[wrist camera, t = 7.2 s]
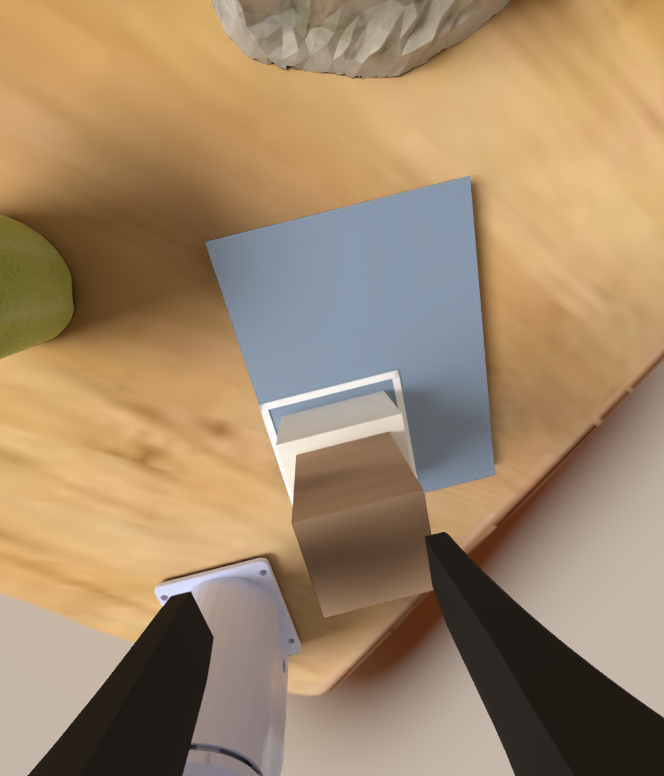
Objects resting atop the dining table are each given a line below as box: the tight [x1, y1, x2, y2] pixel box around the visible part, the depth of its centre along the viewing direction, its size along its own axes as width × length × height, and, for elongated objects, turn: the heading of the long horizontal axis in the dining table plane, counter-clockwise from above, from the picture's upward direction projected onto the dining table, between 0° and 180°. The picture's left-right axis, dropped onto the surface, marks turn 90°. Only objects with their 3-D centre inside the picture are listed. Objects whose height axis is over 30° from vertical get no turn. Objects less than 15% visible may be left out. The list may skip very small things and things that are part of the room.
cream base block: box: [276, 391, 412, 496], centre depth 17 cm, size 6×6×4 cm
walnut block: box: [292, 432, 434, 618], centre depth 13 cm, size 4×4×4 cm
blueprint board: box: [205, 176, 495, 506], centre depth 18 cm, size 17×13×1 cm
